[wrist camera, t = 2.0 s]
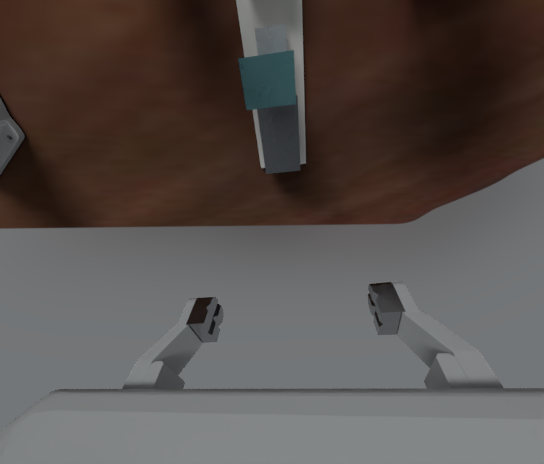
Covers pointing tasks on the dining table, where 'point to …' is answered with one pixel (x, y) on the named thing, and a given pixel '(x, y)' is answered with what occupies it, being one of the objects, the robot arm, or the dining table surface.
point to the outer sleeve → (280, 138)
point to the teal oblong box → (269, 70)
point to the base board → (287, 10)
